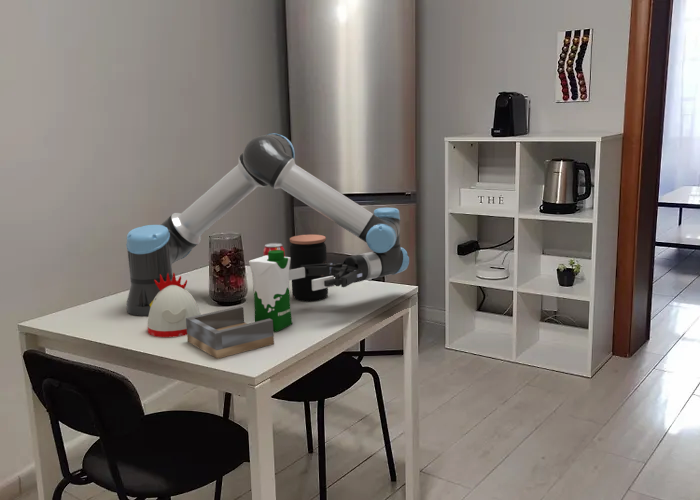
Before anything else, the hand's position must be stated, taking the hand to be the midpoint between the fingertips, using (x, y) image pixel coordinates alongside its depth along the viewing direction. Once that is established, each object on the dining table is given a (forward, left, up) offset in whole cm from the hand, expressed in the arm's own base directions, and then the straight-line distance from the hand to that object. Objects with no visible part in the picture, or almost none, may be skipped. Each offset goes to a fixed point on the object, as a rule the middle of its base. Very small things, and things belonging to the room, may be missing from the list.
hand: (297, 280), depth 182 cm
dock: (+4, -23, -11) cm, 25 cm away
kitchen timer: (-16, -28, -11) cm, 34 cm away
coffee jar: (-17, +15, -11) cm, 25 cm away
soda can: (-42, +18, -11) cm, 47 cm away
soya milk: (0, -8, -11) cm, 14 cm away
